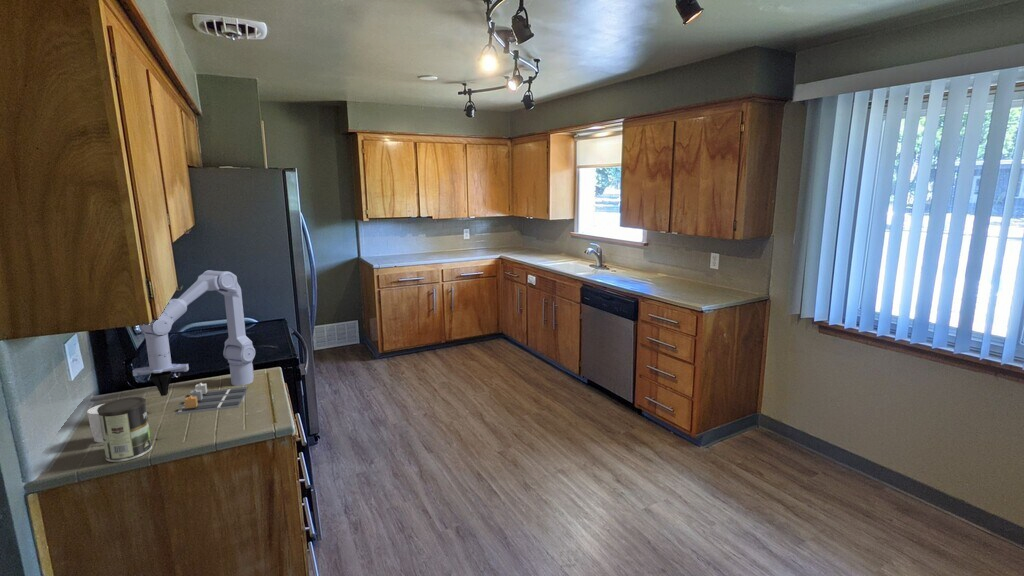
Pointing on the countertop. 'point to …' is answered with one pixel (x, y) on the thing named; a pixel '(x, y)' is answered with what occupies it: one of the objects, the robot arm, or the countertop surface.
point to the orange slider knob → (191, 402)
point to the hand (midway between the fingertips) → (164, 394)
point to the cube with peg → (197, 394)
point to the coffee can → (125, 429)
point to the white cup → (95, 423)
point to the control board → (216, 400)
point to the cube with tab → (202, 387)
